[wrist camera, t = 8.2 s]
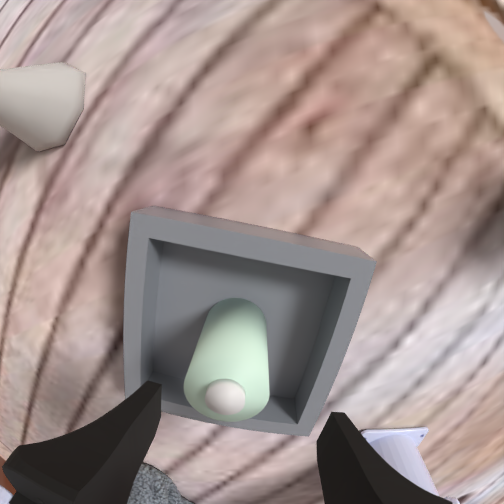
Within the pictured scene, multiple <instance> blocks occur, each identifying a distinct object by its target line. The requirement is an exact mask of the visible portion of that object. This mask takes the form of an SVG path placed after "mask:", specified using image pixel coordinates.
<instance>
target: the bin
mask: <svg viewBox="0 0 504 504" xmlns="http://www.w3.org/2000/svg"><path fill="white" fill-rule="evenodd" d="M376 262H377V261H375V260H374V259H373V258H371V257H370V256H369V255H368V254H366V253H365V252H364V251H362V250H361V249H360V248H358V247H355V246H351V245H346V244H342V243H337V242H333V241H328V240H324V239H319V238H314V237H310V236H305V235H300V234H296V233H291V232H286V231H281V230H277V229H272V228H267V227H262V226H257V225H252V224H247V223H242V222H237V221H232V220H227V219H222V218H217V217H212V216H206V215H201V214H196V213H190V212H185V211H180V210H174V209H169V208H163V207H158V206H150V207H147V208H143V209H140V210H136V211H133V212H131V219H130V228H129V237H128V248H127V260H126V274H125V292H124V328H123V348H124V383H125V399H127V398H128V397H129V396H130V395H131V394H133V393H134V392H135V391H136V390H137V389H138V388H139V387H140V386H142V385H143V384H144V383H145V382H146V381H152V382H155V383H159V384H162V394H161V411H162V412H166V413H169V414H173V415H177V416H181V417H185V418H190V419H194V420H198V421H203V422H208V423H213V424H218V425H223V426H229V427H234V428H240V429H247V430H253V431H261V432H268V433H277V434H287V435H298V436H309V435H310V433H311V431H312V429H313V427H314V425H315V423H316V421H317V419H318V417H319V414H320V412H321V410H322V408H323V406H324V404H325V401H326V399H327V397H328V395H329V392H330V390H331V388H332V385H333V383H334V381H335V378H336V376H337V374H338V371H339V369H340V366H341V364H342V361H343V359H344V356H345V354H346V351H347V349H348V346H349V343H350V341H351V338H352V335H353V333H354V330H355V327H356V324H357V322H358V319H359V316H360V313H361V310H362V307H363V304H364V301H365V298H366V295H367V292H368V289H369V285H370V282H371V279H372V276H373V272H374V269H375V266H376ZM228 298H242V299H246V300H248V301H251V302H252V303H254V304H255V305H257V306H258V307H259V308H260V309H261V311H262V312H263V314H264V316H265V319H266V325H267V347H268V369H269V400H268V402H267V404H266V406H265V407H264V409H263V410H262V411H261V412H259V413H258V414H257V415H255V416H253V417H251V418H249V419H246V420H242V421H236V422H225V421H219V420H214V419H211V418H209V417H206V416H204V415H203V414H201V413H199V412H198V411H197V410H195V409H194V408H193V407H192V406H191V405H190V403H189V402H188V400H187V398H186V396H185V393H184V380H185V377H186V374H187V372H188V369H189V366H190V363H191V360H192V357H193V354H194V352H195V349H196V346H197V343H198V340H199V338H200V335H201V332H202V329H203V326H204V324H205V321H206V318H207V315H208V313H209V311H210V310H211V308H212V307H213V306H214V305H215V304H217V303H218V302H220V301H222V300H224V299H228Z"/></svg>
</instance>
